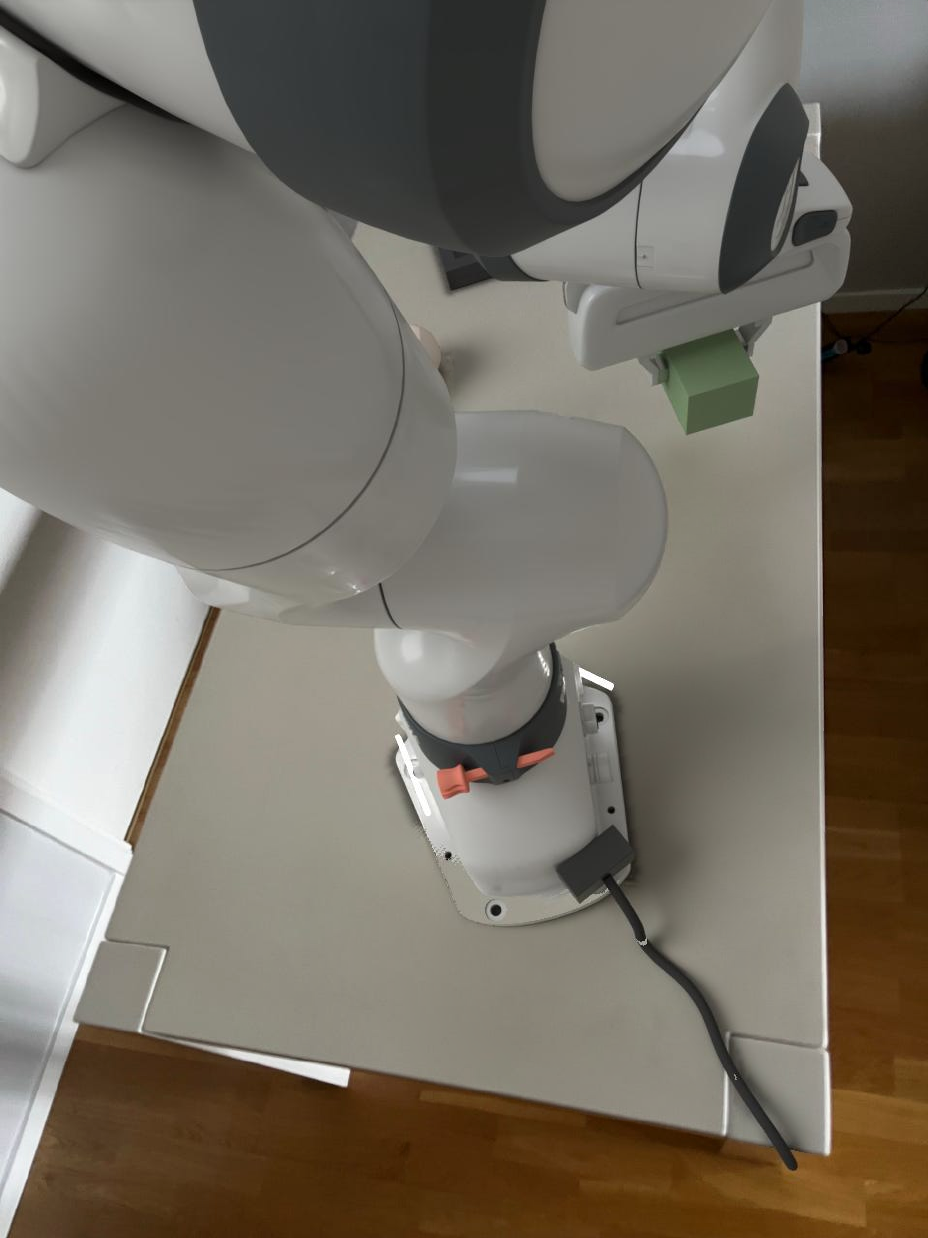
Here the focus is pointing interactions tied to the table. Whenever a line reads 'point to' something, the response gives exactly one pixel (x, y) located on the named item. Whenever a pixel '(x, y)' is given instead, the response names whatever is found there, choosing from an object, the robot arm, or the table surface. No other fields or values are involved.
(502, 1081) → the table surface
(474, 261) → the black square tray
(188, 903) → the table surface
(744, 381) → the green block
